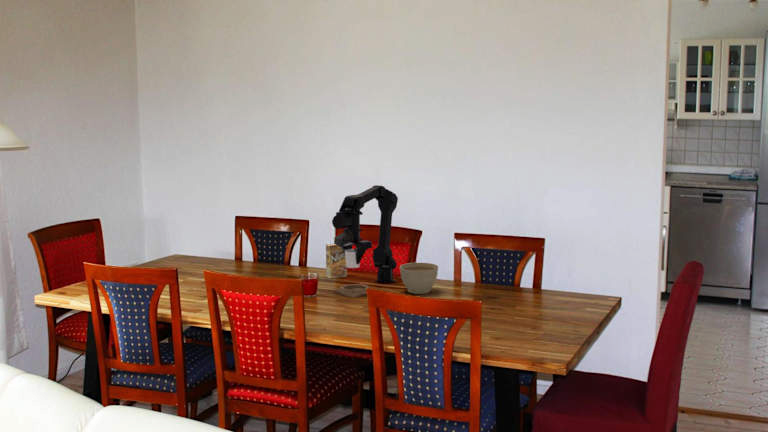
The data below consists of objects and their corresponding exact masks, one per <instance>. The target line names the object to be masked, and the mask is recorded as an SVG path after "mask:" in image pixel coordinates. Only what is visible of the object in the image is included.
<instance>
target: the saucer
mask: <svg viewBox="0 0 768 432" xmlns="http://www.w3.org/2000/svg"><path fill="white" fill-rule="evenodd" d="M367 288H369V289H370V286H369V285H366V284H362V283H360V284H359V283H351V284H344V285H341V286H340V287H339V289H336V290H334V293H335V294H337V295H342V296H344V297H345V296H346V297H349V298H352V299H353V298H359V297H363V295H364V296H366V295H365V294H366V289H367Z"/></svg>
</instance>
